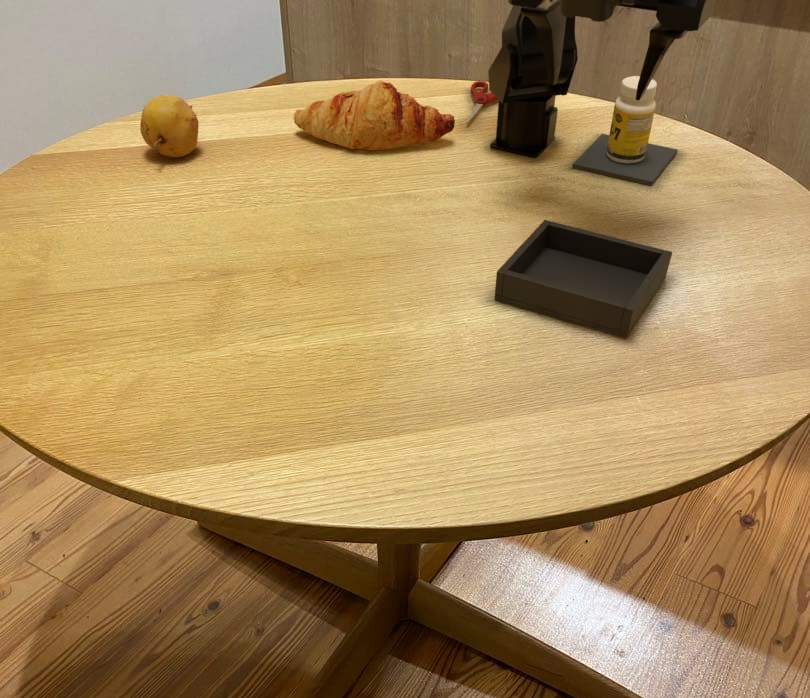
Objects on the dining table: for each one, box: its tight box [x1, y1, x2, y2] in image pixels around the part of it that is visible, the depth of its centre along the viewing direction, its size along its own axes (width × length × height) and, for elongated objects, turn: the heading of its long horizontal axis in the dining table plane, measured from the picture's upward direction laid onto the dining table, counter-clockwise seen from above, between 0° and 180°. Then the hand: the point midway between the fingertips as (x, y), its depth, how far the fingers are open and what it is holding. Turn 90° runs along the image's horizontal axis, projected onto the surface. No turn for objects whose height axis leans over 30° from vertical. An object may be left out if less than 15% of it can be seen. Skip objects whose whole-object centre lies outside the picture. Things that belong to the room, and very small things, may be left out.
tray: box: [494, 219, 673, 340], centre depth 78 cm, size 14×12×3 cm
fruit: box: [139, 94, 199, 158], centre depth 98 cm, size 7×7×10 cm
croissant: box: [293, 80, 456, 151], centre depth 101 cm, size 21×10×8 cm, turn 81°
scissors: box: [465, 80, 499, 125], centre depth 109 cm, size 5×14×1 cm, turn 161°
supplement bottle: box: [607, 75, 658, 164], centre depth 94 cm, size 5×5×8 cm
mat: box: [572, 133, 679, 186], centre depth 98 cm, size 10×10×1 cm
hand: (595, 91), depth 81 cm, fingers open, 9 cm apart
